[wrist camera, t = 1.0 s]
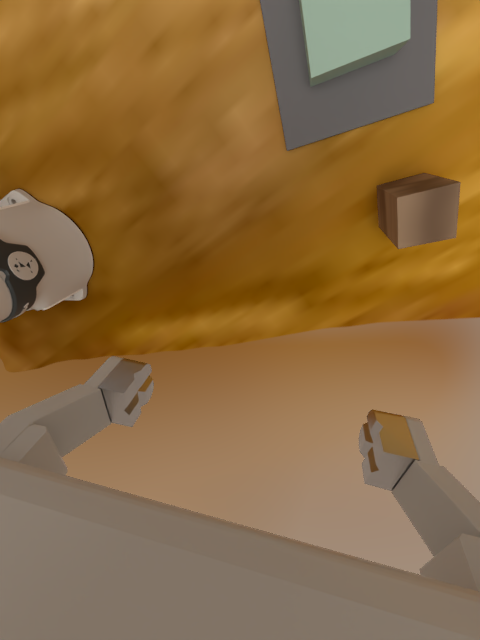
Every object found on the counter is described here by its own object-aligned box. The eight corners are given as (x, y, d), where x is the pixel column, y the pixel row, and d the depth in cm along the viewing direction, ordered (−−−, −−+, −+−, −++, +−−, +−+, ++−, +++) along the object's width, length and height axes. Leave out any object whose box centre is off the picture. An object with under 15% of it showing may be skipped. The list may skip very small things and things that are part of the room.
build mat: (287, 150, 34) (287, 150, 33) (250, -58, 26) (248, -62, 25) (431, 103, 29) (433, 102, 29) (439, -168, 21) (443, -176, 21)
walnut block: (378, 226, 36) (398, 249, 29) (376, 185, 34) (397, 197, 26) (423, 217, 35) (455, 237, 27) (424, 172, 32) (460, 182, 25)
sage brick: (310, 86, 30) (311, 78, 26) (296, -19, 26) (294, -50, 22) (394, 54, 27) (410, 38, 23) (392, -68, 24) (410, -113, 19)
